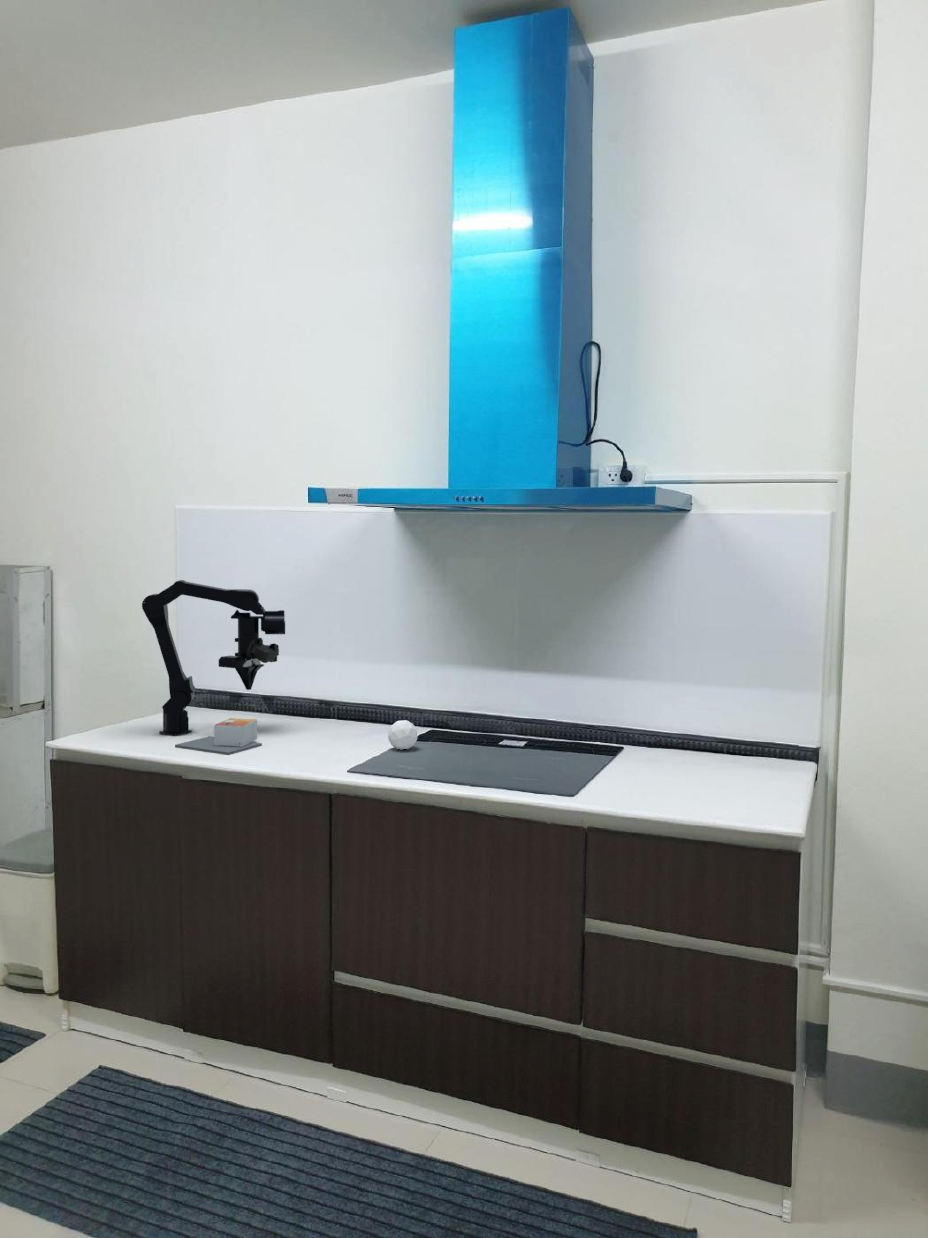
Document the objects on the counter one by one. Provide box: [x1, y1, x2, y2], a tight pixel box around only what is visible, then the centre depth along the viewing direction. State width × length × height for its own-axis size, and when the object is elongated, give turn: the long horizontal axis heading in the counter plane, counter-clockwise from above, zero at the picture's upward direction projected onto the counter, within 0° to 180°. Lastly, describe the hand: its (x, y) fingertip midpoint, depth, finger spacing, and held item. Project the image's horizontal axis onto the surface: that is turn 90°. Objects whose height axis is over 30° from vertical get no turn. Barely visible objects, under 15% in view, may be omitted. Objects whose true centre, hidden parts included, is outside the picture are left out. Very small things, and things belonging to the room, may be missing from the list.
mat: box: [174, 735, 263, 756], centre depth 251 cm, size 18×13×1 cm
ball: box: [387, 719, 418, 751], centre depth 251 cm, size 8×8×8 cm
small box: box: [213, 717, 258, 747], centre depth 253 cm, size 8×6×10 cm
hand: (248, 689), depth 270 cm, fingers closed
